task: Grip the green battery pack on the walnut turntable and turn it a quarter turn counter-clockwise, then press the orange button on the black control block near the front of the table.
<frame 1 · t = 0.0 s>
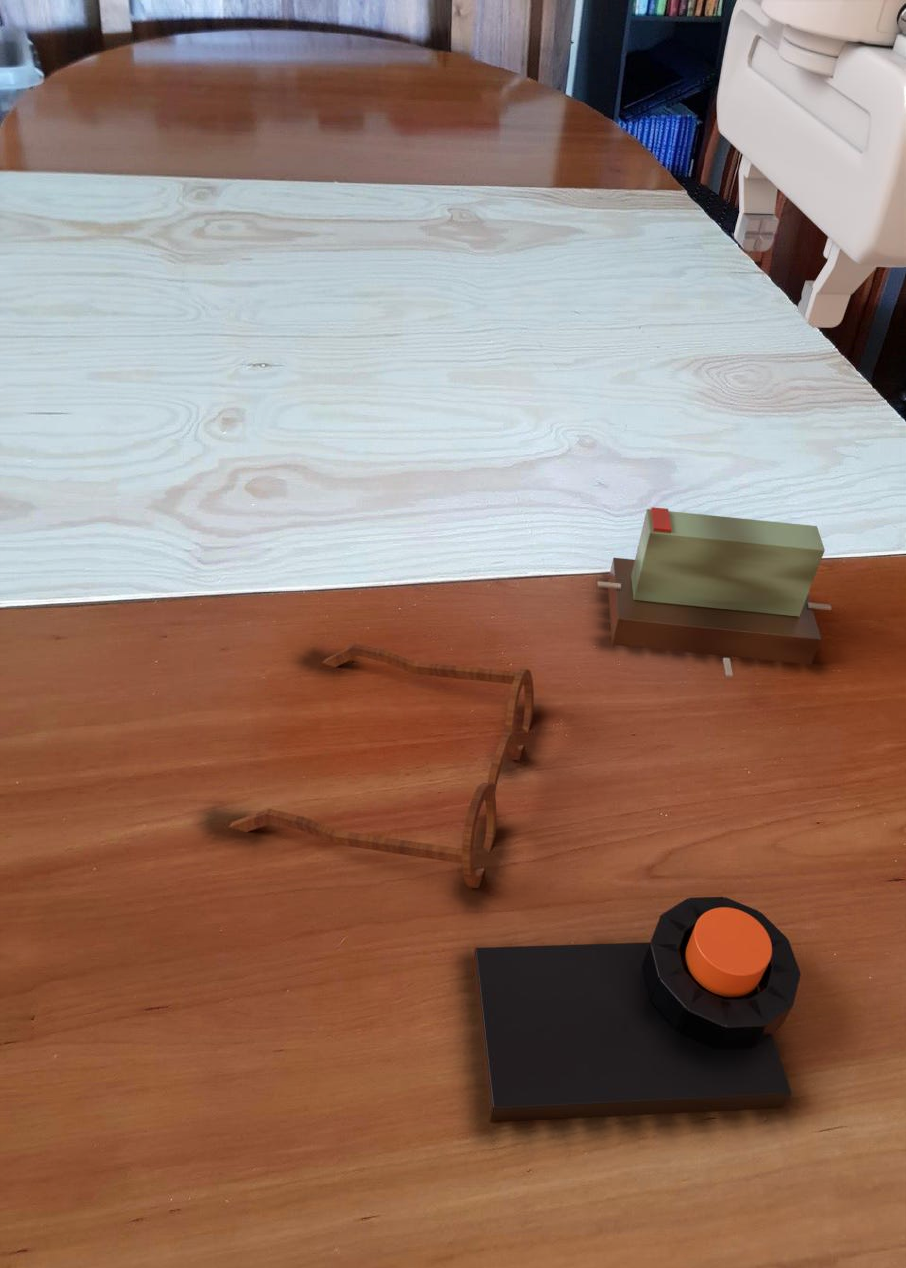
hand: (782, 281, 56), 21 cm above the table, tool pointing down, fingers open, 8 cm apart
green battery pack: (724, 561, 63), point 6 cm above the table, hinge at 0.0°
control block: (617, 1043, 45), on the table
glasses: (387, 778, 56), on the table
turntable: (702, 633, 66), on the table
button: (728, 951, 44), point 4 cm above the table, slide at 0.1 cm
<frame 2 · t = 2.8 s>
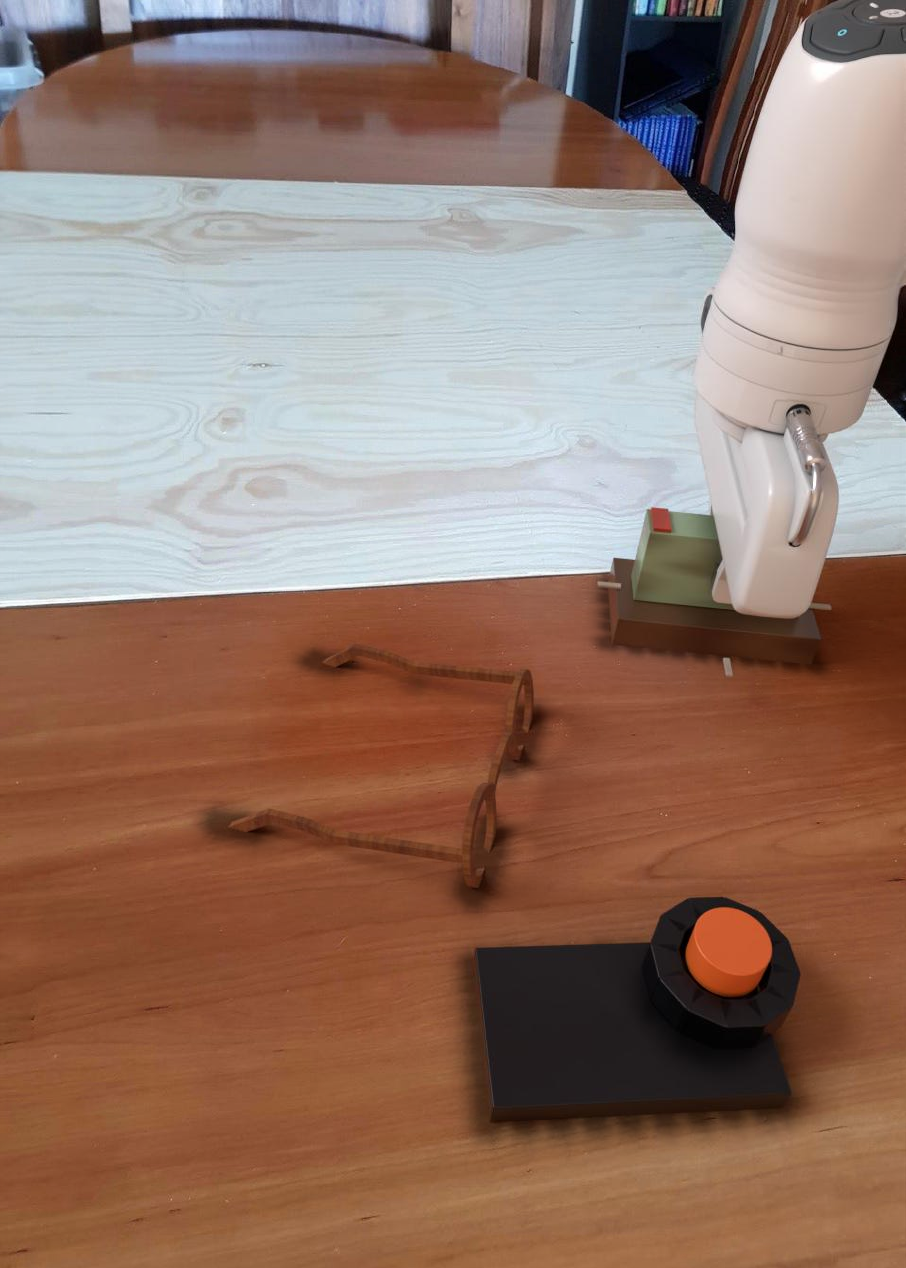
hand: (720, 575, 63), 5 cm above the table, tool pointing down, fingers closed on green battery pack, 2 cm apart
green battery pack: (724, 561, 63), point 6 cm above the table, hinge at 0.0°, touching gripper
everything else where it was.
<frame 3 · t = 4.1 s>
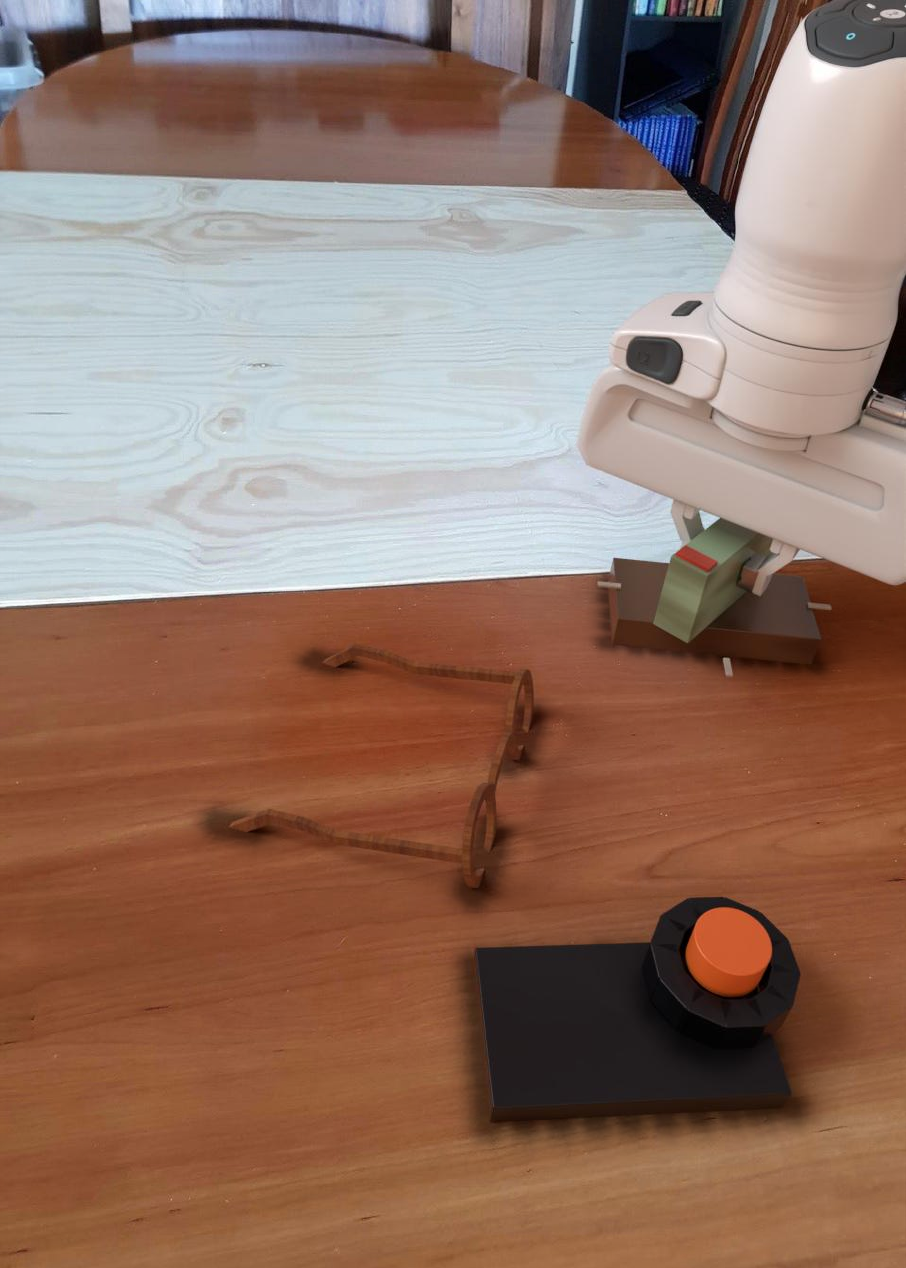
hand: (721, 574, 63), 5 cm above the table, tool pointing down, fingers closed on green battery pack, 2 cm apart
green battery pack: (724, 561, 63), point 6 cm above the table, hinge at 52.7°, touching gripper
everything else where it was.
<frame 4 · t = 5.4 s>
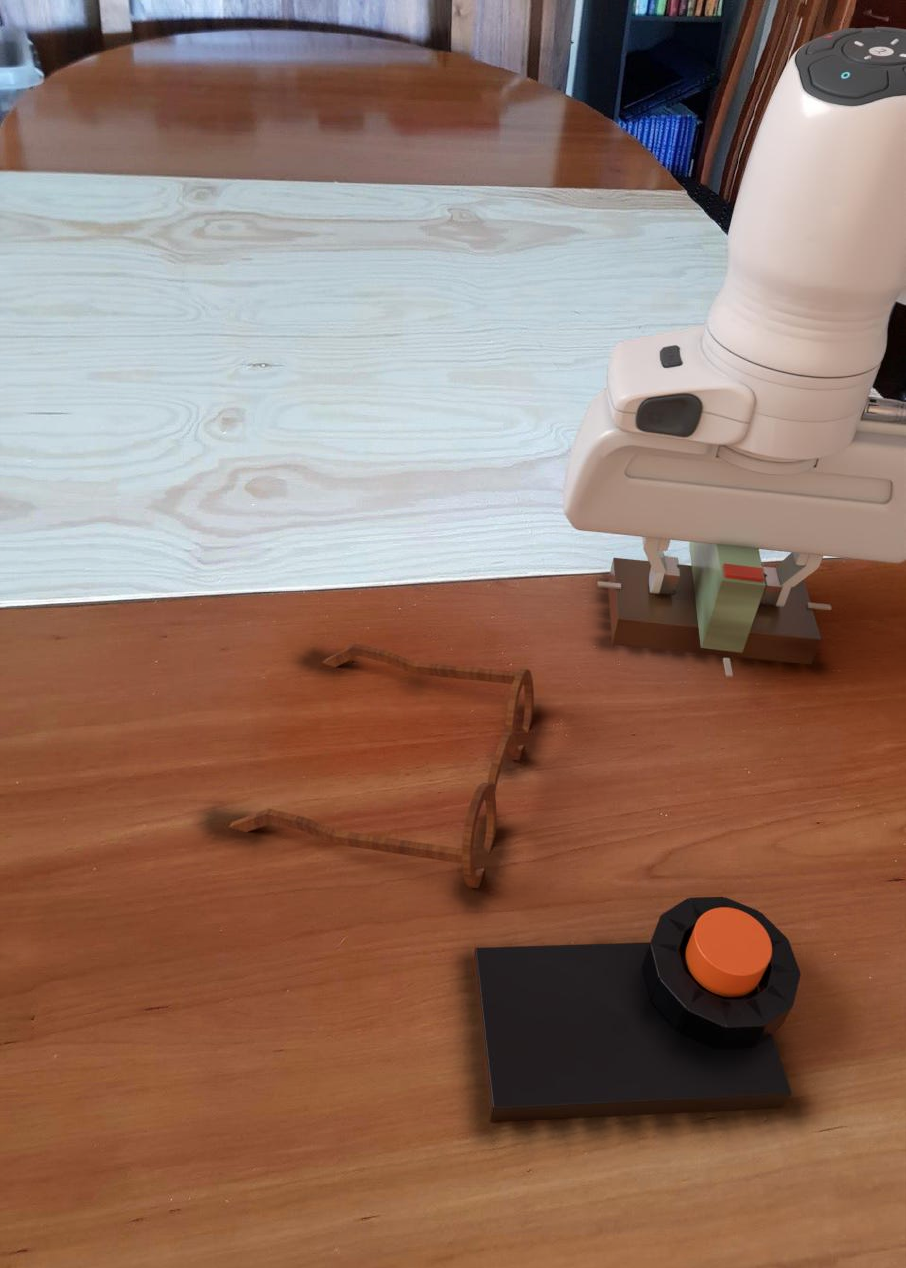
hand: (714, 594, 64), 3 cm above the table, tool pointing down, fingers open, 5 cm apart
green battery pack: (724, 561, 63), point 6 cm above the table, hinge at 88.0°
everything else where it was.
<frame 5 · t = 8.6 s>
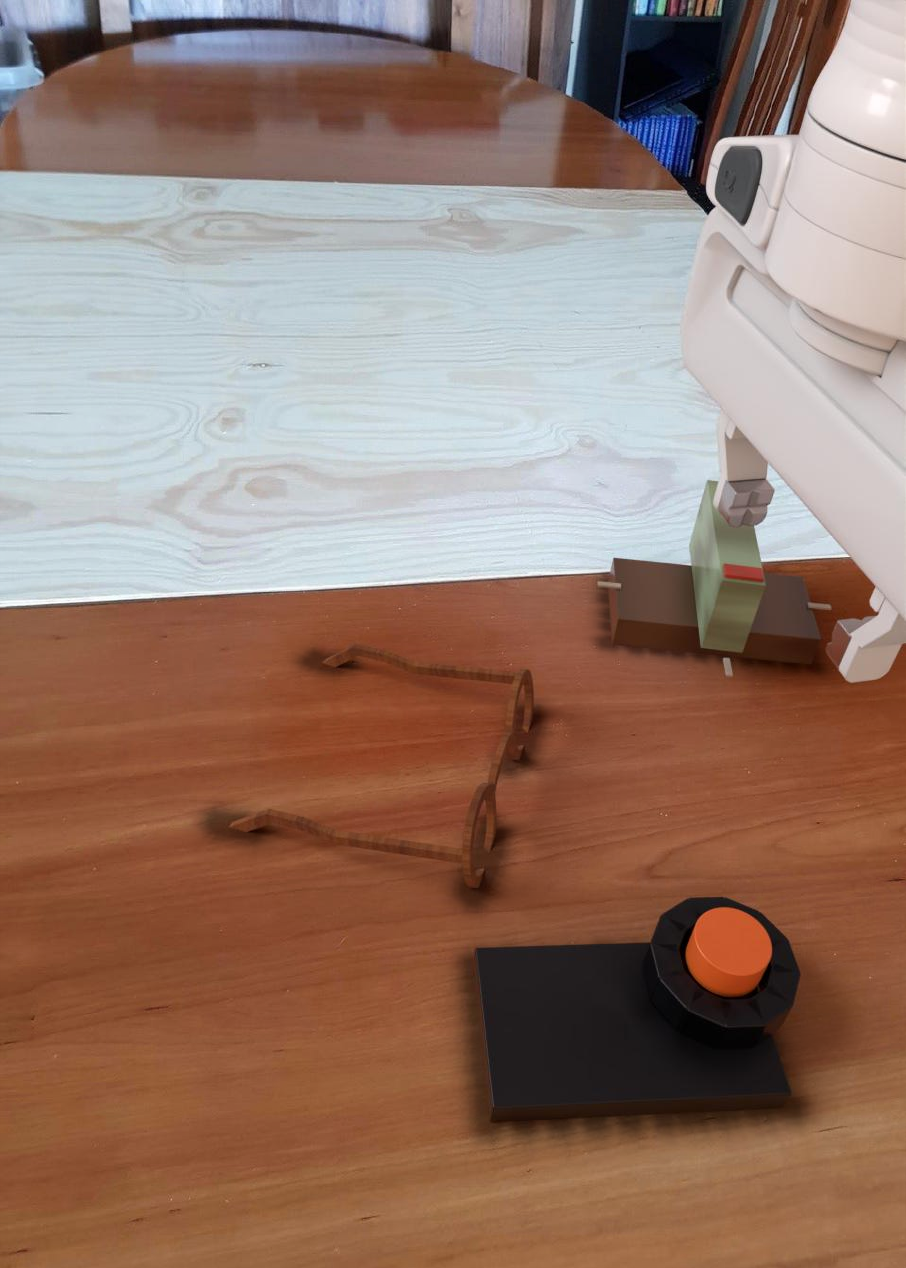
hand: (790, 586, 41), 18 cm above the table, tool pointing down, fingers open, 8 cm apart
nothing on the table moved.
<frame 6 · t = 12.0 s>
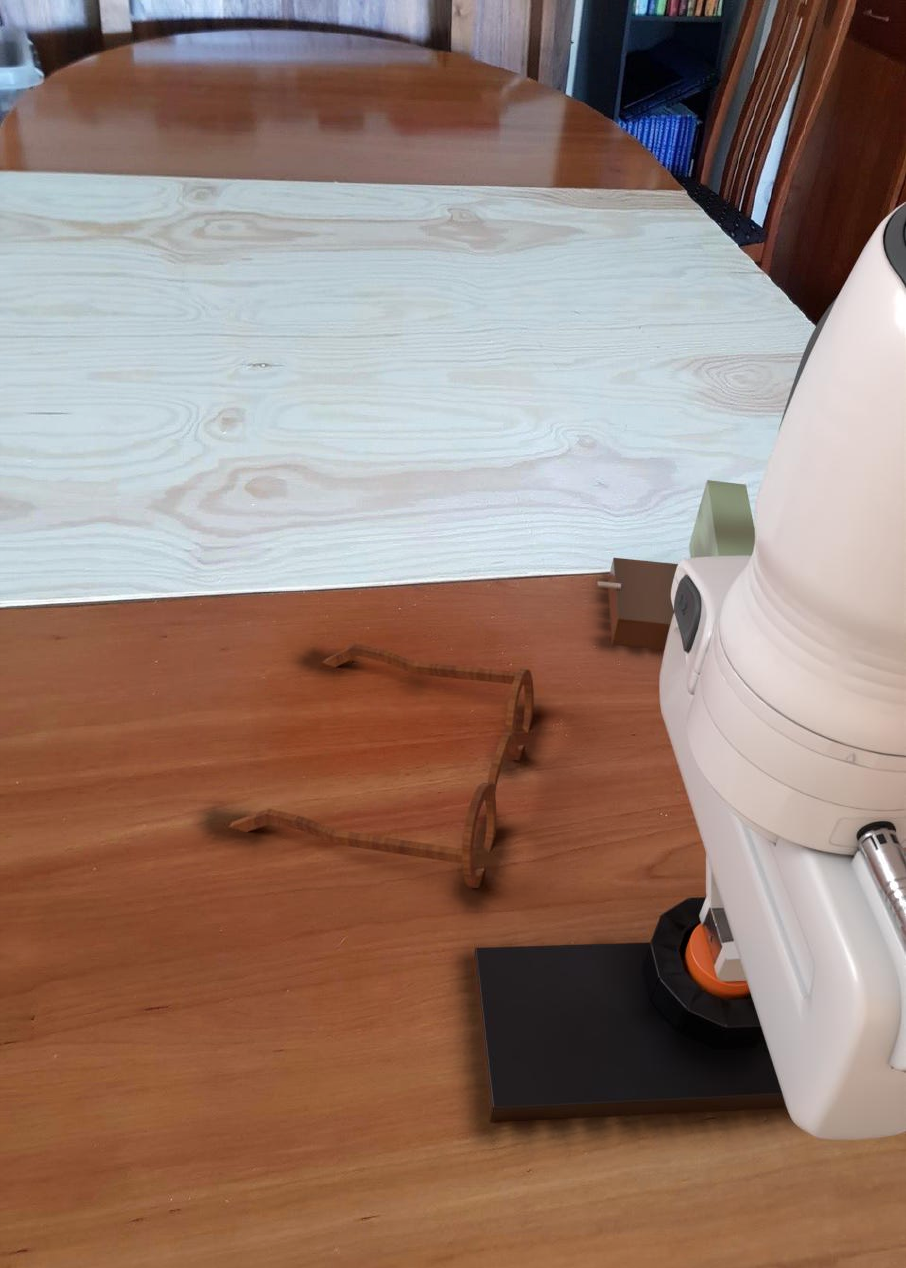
hand: (726, 950, 44), 5 cm above the table, tool pointing down, fingers closed, pressing on button
button: (723, 962, 45), point 4 cm above the table, slide at -0.7 cm, touching gripper
everything else where it was.
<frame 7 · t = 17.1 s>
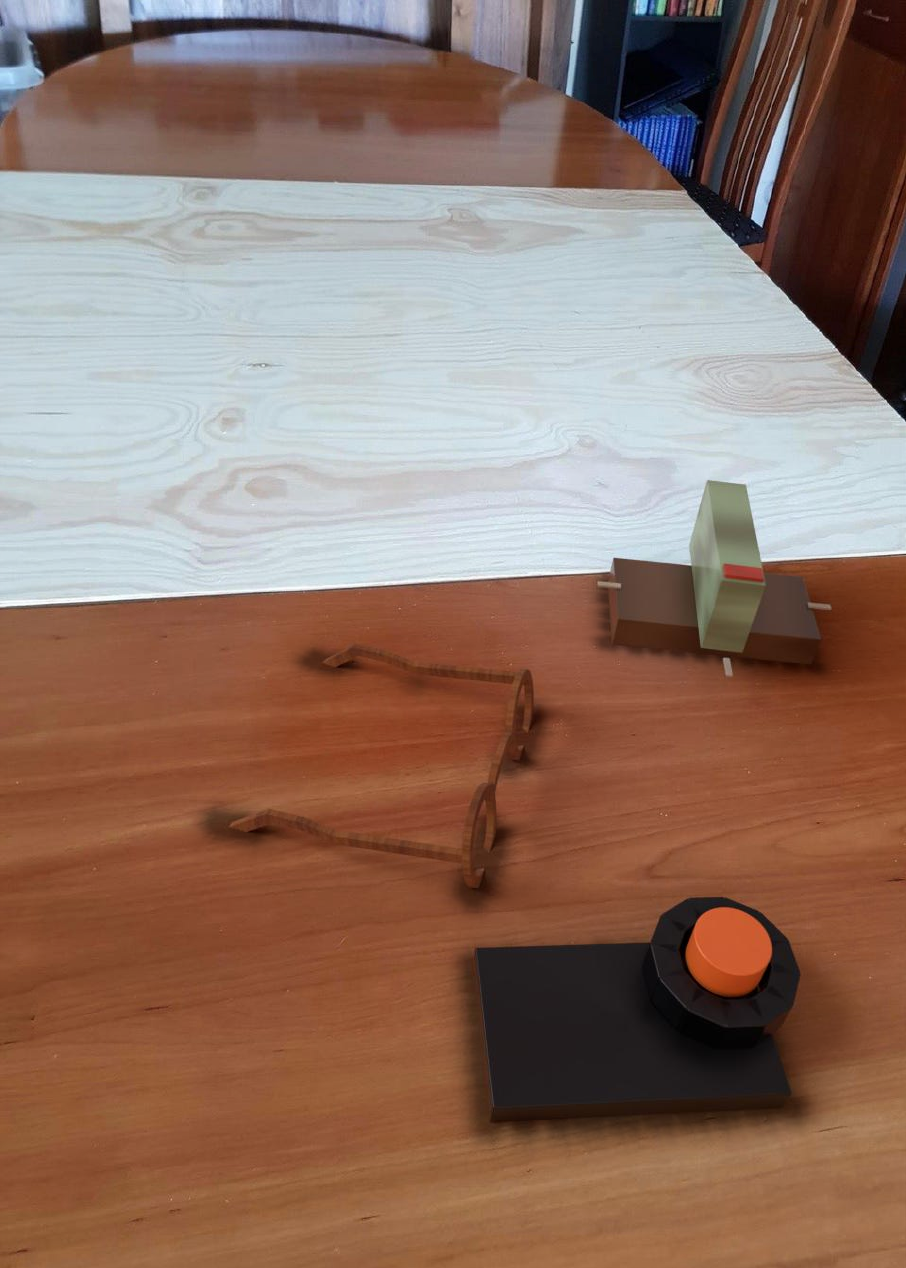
button: (728, 951, 44), point 4 cm above the table, slide at 0.1 cm
everything else where it was.
at the end: green battery pack at +88° (first picture: +0°); button pushed in 1.0 cm at the most during the clip, back to where it started at the end; button slide at 0.1 cm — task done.
